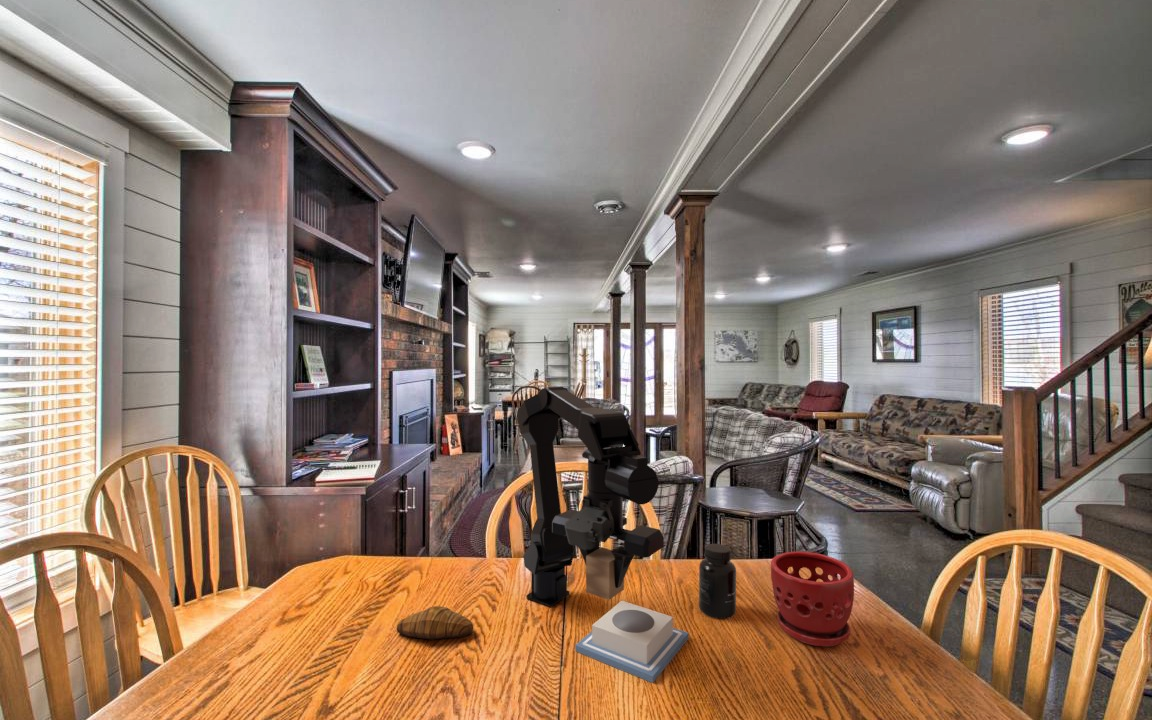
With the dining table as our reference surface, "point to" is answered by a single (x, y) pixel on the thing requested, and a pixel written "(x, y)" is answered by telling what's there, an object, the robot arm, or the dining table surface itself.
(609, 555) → the walnut block
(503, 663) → the dining table surface
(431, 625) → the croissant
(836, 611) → the plant pot
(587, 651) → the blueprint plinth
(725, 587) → the supplement bottle
